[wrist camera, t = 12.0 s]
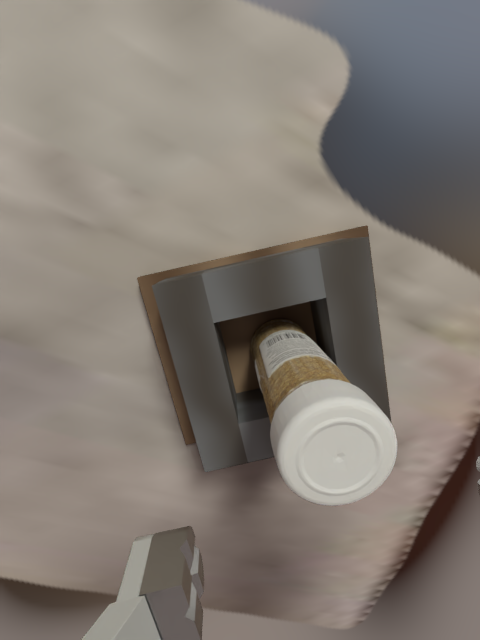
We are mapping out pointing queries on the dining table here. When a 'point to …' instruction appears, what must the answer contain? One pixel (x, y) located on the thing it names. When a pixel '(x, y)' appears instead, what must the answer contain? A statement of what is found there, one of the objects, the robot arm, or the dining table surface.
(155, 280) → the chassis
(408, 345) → the dining table surface
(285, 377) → the sprinkles bottle
